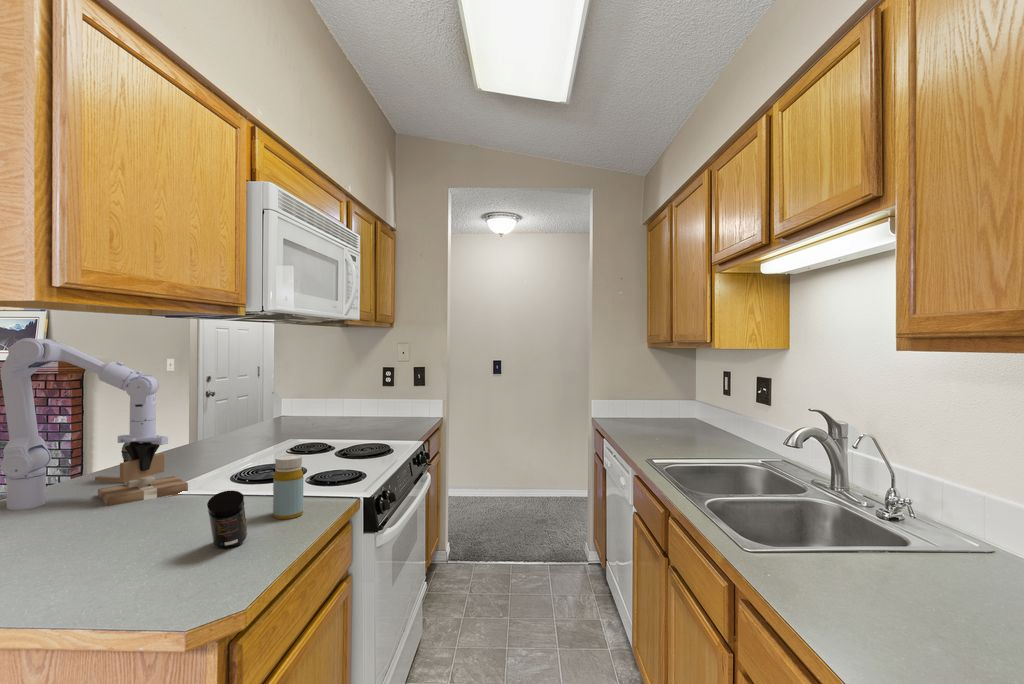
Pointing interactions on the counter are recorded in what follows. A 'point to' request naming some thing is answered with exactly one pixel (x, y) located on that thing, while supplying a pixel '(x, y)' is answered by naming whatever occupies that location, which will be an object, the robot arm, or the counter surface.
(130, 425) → the robot arm
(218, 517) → the supplement container
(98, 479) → the wooden l-shaped bracket
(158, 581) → the counter surface
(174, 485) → the wooden block stack
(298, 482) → the bottle
